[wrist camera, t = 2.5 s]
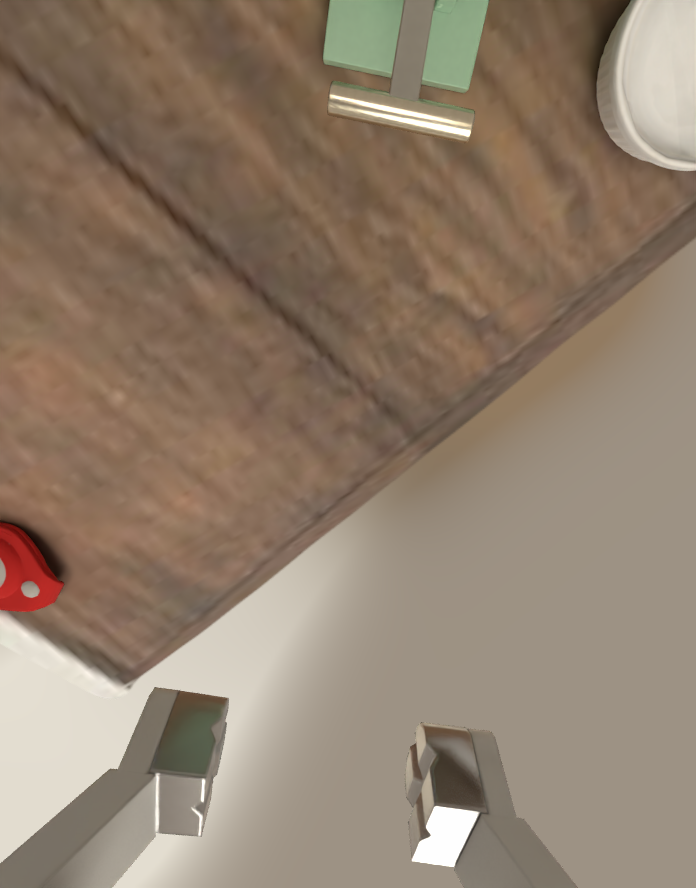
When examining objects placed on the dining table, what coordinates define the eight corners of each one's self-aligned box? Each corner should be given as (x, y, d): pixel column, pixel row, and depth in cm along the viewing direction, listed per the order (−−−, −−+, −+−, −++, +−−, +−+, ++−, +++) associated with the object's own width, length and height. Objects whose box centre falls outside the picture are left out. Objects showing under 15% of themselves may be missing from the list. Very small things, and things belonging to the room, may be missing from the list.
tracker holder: (-40, 508, 44) (55, 567, 44) (1, 497, 48) (87, 550, 48) (-89, 618, 46) (2, 675, 46) (-45, 598, 50) (37, 650, 50)
